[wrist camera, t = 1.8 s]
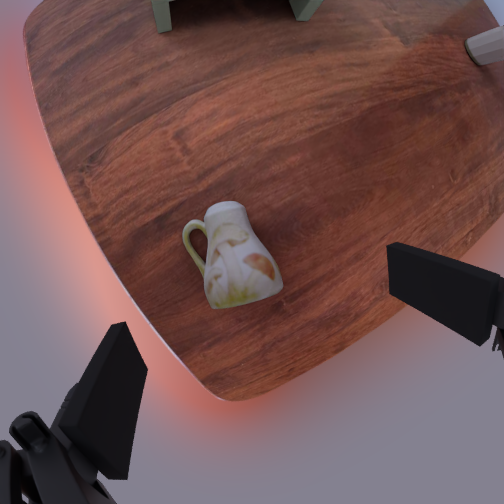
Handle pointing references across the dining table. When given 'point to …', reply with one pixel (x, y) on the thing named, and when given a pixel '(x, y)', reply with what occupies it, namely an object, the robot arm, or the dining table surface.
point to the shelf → (302, 3)
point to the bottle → (487, 46)
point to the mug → (233, 258)
